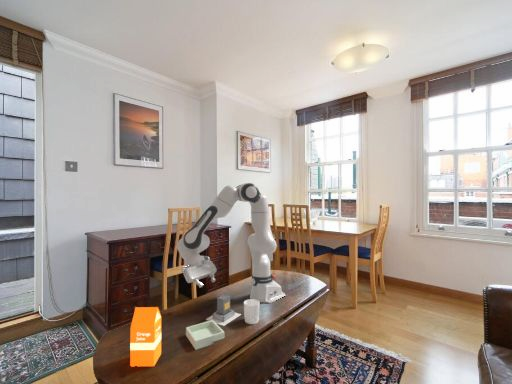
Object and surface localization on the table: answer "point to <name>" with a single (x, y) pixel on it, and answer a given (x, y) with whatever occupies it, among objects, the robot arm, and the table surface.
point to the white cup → (251, 311)
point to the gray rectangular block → (223, 305)
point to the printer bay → (223, 317)
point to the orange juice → (145, 337)
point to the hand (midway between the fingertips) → (208, 284)
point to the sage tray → (204, 334)
